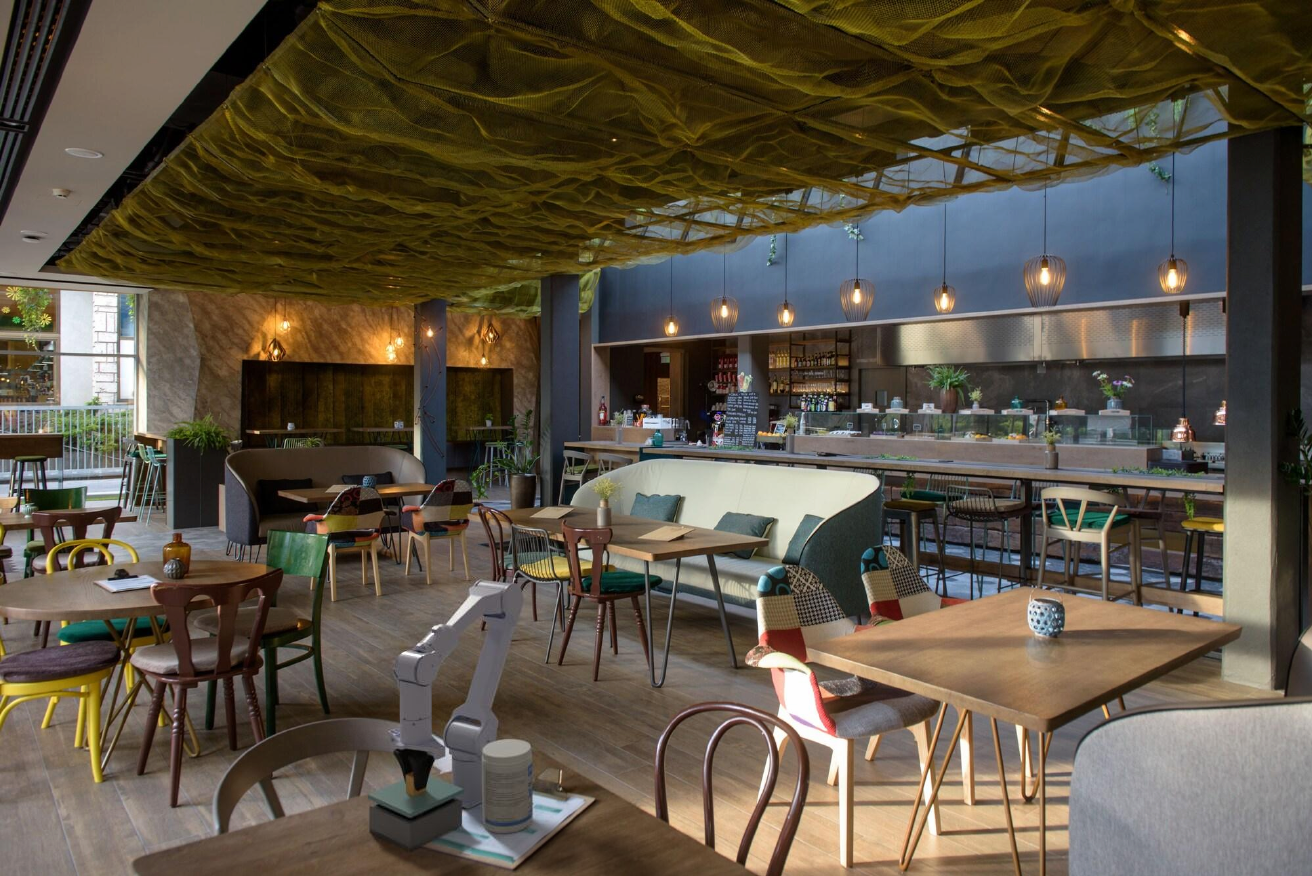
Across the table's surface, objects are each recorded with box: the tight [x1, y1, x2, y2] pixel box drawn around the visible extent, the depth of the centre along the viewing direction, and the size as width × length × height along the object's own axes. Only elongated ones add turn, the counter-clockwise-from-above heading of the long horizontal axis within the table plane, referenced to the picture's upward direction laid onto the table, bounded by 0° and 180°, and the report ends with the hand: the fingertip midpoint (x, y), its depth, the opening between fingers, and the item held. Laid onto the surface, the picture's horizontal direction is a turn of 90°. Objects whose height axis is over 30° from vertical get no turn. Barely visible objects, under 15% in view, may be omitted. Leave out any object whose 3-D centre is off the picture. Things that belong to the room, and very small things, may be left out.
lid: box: [367, 772, 464, 818], centre depth 162 cm, size 12×12×5 cm
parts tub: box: [368, 797, 463, 853], centre depth 163 cm, size 12×12×5 cm
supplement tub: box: [481, 738, 534, 834], centre depth 165 cm, size 10×10×15 cm
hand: (416, 786), depth 162 cm, fingers closed on lid, 2 cm apart
